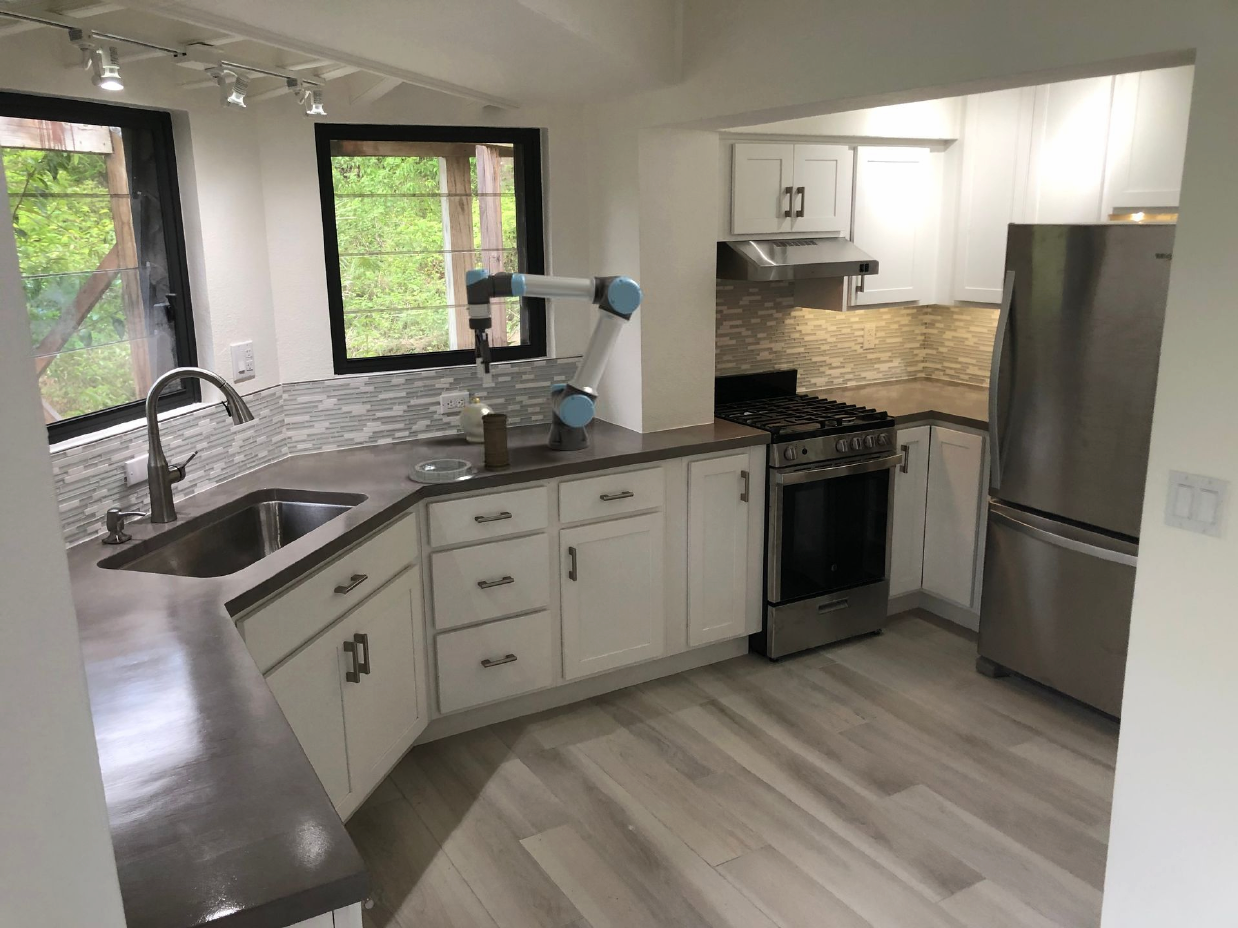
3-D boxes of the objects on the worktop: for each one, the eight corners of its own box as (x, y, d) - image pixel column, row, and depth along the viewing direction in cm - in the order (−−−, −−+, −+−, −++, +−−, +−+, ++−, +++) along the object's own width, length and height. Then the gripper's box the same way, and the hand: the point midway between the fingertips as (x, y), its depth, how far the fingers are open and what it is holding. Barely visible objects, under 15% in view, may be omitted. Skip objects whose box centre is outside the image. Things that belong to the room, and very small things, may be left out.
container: (505, 472, 319) (503, 418, 314) (479, 471, 321) (477, 417, 316) (514, 465, 327) (511, 413, 323) (488, 464, 329) (486, 412, 325)
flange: (472, 464, 330) (472, 455, 329) (482, 480, 309) (481, 471, 308) (407, 469, 324) (406, 460, 323) (412, 486, 303) (411, 476, 303)
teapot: (451, 441, 364) (448, 398, 360) (476, 435, 375) (474, 393, 371) (486, 447, 354) (484, 403, 350) (511, 440, 364) (509, 397, 360)
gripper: (463, 314, 333) (468, 375, 339) (473, 321, 310) (478, 386, 315) (485, 313, 335) (489, 373, 340) (497, 319, 312) (501, 384, 317)
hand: (484, 380), depth 328 cm, fingers open, 13 cm apart
